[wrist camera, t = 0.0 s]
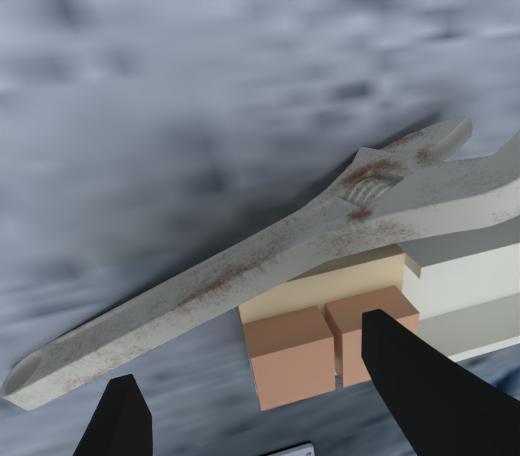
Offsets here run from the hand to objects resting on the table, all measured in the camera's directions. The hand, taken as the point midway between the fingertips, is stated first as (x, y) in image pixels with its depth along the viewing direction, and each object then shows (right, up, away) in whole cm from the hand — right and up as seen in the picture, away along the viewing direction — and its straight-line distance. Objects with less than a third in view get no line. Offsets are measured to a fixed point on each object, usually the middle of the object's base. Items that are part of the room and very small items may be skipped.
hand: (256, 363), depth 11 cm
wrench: (-2, +3, +10) cm, 11 cm away
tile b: (+2, -3, +11) cm, 11 cm away
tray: (+15, +2, +15) cm, 21 cm away
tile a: (+6, -2, +11) cm, 13 cm away
